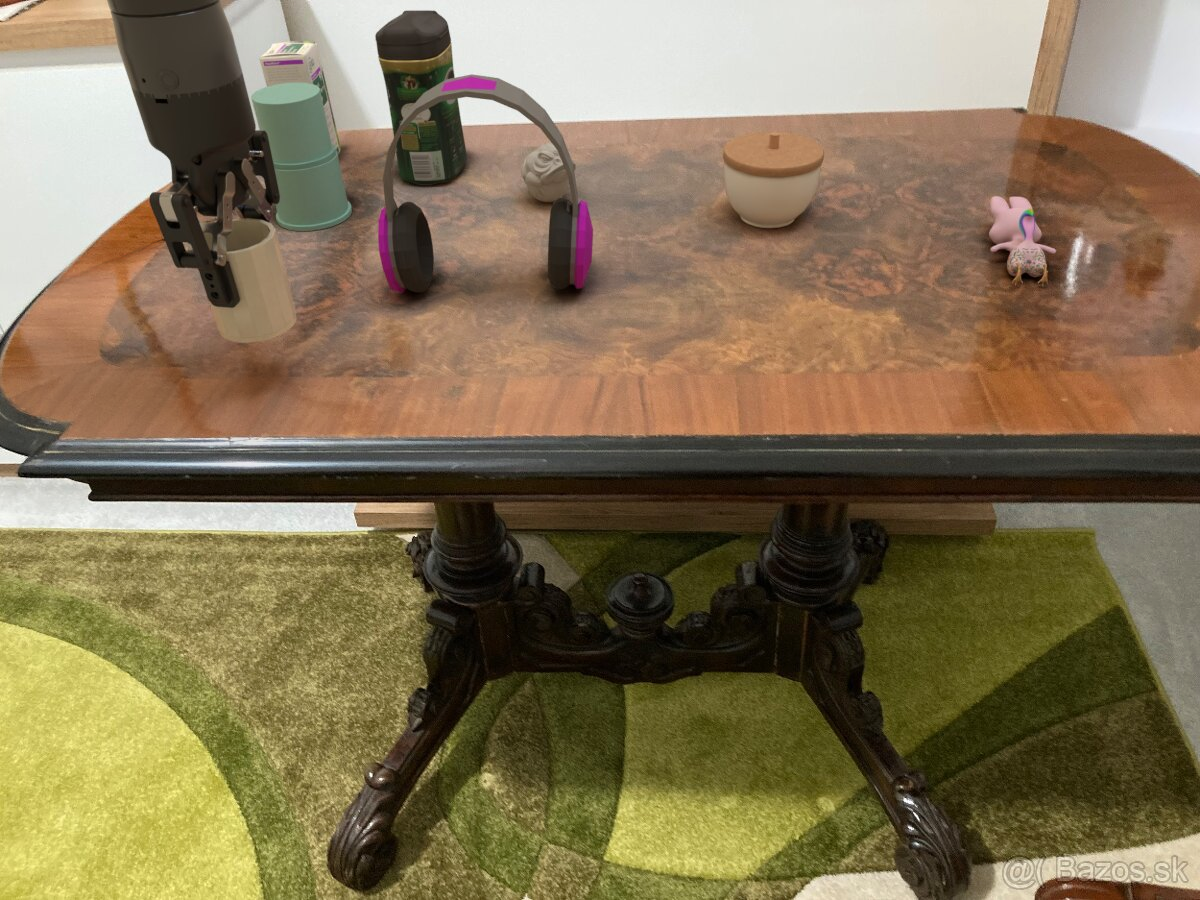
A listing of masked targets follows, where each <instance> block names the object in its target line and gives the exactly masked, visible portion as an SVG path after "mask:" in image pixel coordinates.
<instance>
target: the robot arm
mask: <svg viewBox="0 0 1200 900" xmlns="http://www.w3.org/2000/svg"><path fill="white" fill-rule="evenodd" d="M106 2H107V5H108V8H109V10H110V14H111V19H112V23H113V27H114V33H115V39H116V43H117V48H118V51H119V54H120V57H121V61H122V63H123V66H124V70H125V72H126V76H127V79H128V81H129V84H130V88H131V91H132V95H133V97H134V100H135V103H136V106H137V109H138V112H139V115H140V118H141V121H142V125H143V127H144V130H145V133H146V137H147V140H148V142H149V144H150V146H151V147H152V148H154V149H155V150H156V151H159V152H160V153H162V154H163V155H164V156H165V157H166V158H167V159H168V160H169V162H170V169H171V182H172V185H171V186H170V187H169V188H168V189H167V190H166V191H163V192H160V191H159V192H158V191H153V192H151V194H150V195H149V205H150V207H151V210H152V212H153V215H154V217H155V220H156V223H157V225H158V227H159V229H160V232H161V235H162V237H163V239H164V242H165V244H166V248H167V249H168V251H169V254H170V257H171V259H172V262H173V264H174V265H175V267H176V268H179V269H196V270H198V273H199V272H200V273H199V276H200V278H201V282H202V285H203V288H204V287H205V288H204V291H205V294H206V298H207V300H209V301H210V302H211V304H212V305H214V306H216V307H227V308H234V307H235V306H236V305H237V304H238V303H239V302H240V297H239V294H238V290H237V287H236V284H235V280H234V277H233V274H232V270H231V267H230V264H229V261H226V260H227V244H226V238H227V235H229V234H230V233H231V232H232V219H233V212H235V213H236V215H237V216H238V218H239V219H243V218H252V219H260V220H264V221H266V222H269V223H271V222H270V221H271V220H272V219H273V216H274V215H273V214H274V213H273V208H272V206H273V205H275V204H278V203H279V201H280V194H279V189H278V184H277V179H276V174H275V169H274V164H273V159H272V154H271V149H270V144H269V139H268V135H267V133H266V131H261V130H259V129H257V125H256V120H255V117H254V113H253V108H252V104H251V101H250V96H249V93H248V89H247V86H246V81H245V78H244V73H243V69H242V64H241V61H240V58H239V53H238V49H237V45H236V41H235V38H234V34H233V31H232V28H231V25H230V22H229V21H228V18H227V16H226V13H225V10H224V7H223V5H222V1H221V0H106ZM256 129H257V130H256ZM257 176H258V177H259V176H260V177H262V179H263V181H264V186H263V184H262V183H261V182H260V180H259V179H258V177H257ZM198 214H199V215H201V216H203V217H216V220H214V221H212V222H204V221H200V220H199V218H198ZM204 233H210V234H211V235H212V249H209V247H208V244H207V242H206V239H205V236H204ZM184 243H187V250H186V247H185V244H184ZM209 301H208V302H209Z"/></svg>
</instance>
